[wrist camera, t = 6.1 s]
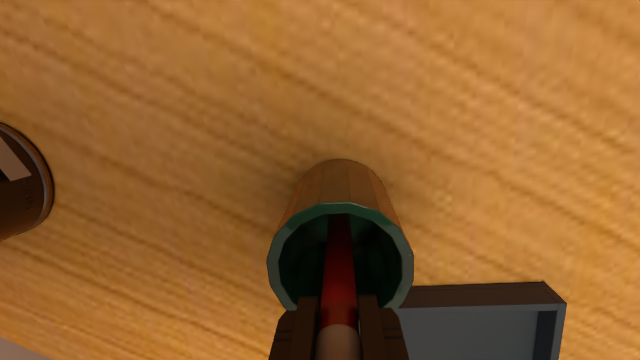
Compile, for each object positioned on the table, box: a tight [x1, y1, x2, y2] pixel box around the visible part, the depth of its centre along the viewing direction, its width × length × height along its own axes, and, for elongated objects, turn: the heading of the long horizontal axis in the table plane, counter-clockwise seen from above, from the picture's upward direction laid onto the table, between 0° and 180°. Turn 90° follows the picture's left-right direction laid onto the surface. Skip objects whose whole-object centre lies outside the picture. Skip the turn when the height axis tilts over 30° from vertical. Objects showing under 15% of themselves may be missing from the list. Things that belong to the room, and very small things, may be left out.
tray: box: [287, 282, 567, 360], centre depth 26 cm, size 20×12×3 cm, turn 95°
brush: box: [314, 213, 363, 360], centre depth 15 cm, size 2×2×18 cm
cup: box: [266, 159, 414, 330], centre depth 20 cm, size 7×7×9 cm
